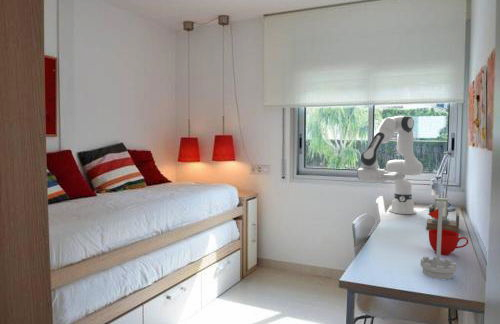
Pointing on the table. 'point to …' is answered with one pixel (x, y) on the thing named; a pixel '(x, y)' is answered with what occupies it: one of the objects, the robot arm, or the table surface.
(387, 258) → the table surface
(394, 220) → the table surface
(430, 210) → the alarm clock
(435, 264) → the flag stand
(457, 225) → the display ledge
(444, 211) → the green pillar on base
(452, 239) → the ceramic cup
